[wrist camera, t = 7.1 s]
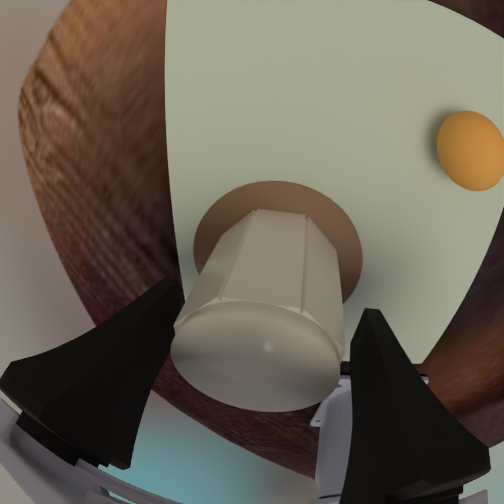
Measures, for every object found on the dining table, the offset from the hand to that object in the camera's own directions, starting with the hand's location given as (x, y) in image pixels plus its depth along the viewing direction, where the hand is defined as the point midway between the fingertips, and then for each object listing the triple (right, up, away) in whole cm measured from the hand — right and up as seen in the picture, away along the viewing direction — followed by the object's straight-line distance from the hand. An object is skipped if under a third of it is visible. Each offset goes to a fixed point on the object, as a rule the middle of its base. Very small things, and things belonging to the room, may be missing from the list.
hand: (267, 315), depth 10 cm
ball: (+7, +6, -3) cm, 10 cm away
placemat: (+4, +4, +1) cm, 6 cm away
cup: (+1, +2, +2) cm, 3 cm away
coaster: (+1, +2, +3) cm, 3 cm away
